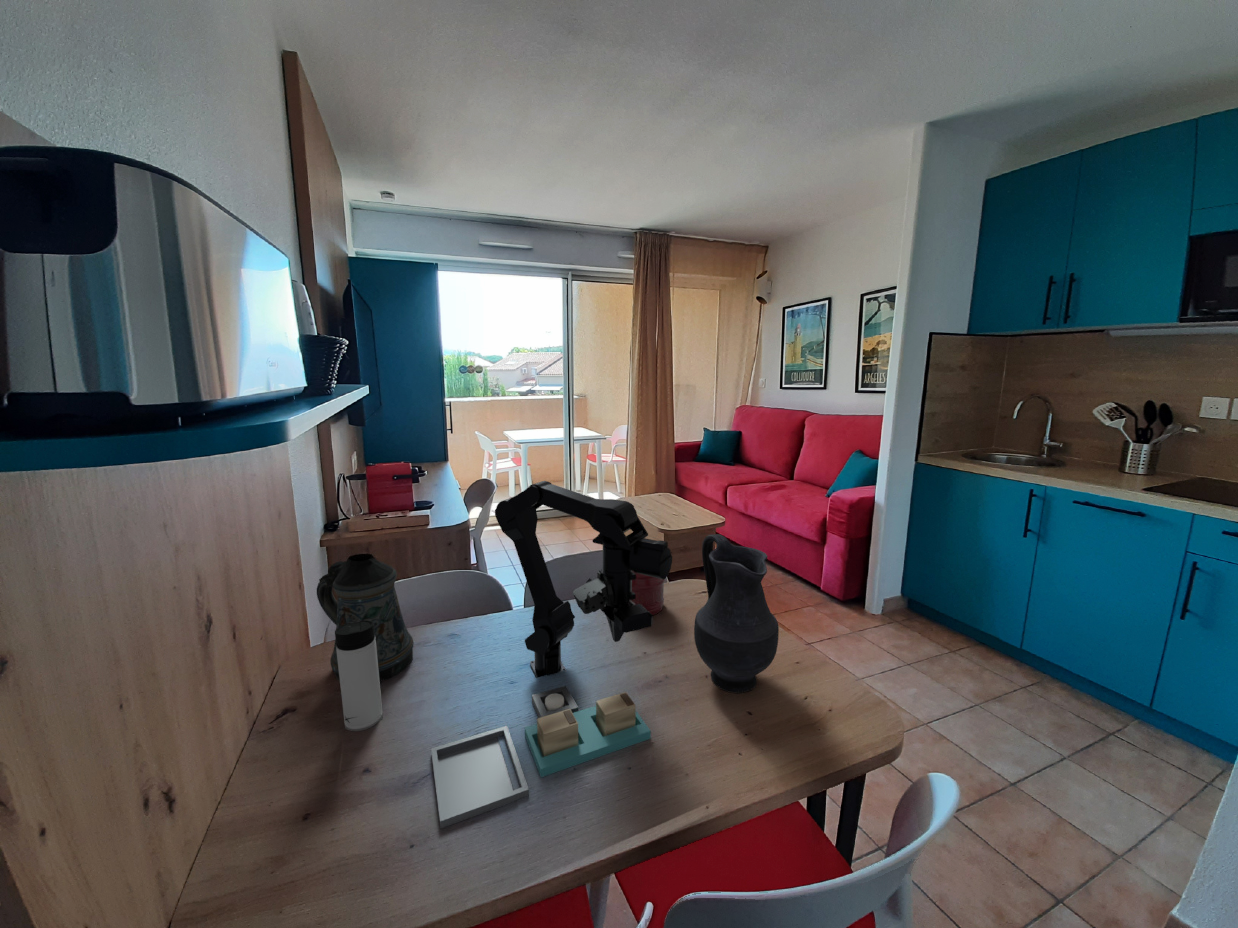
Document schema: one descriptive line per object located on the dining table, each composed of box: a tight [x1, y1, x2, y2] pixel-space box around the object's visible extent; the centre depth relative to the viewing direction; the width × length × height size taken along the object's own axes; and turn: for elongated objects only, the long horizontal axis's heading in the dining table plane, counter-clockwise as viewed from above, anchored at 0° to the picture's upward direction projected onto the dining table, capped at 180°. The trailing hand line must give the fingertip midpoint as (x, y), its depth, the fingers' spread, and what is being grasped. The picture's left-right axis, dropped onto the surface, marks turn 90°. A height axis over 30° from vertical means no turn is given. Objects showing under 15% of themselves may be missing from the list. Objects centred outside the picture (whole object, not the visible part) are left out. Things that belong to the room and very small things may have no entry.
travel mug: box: [334, 620, 384, 732], centre depth 89 cm, size 6×7×20 cm
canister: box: [631, 571, 665, 616], centre depth 134 cm, size 13×13×18 cm
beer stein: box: [316, 553, 415, 682], centre depth 106 cm, size 16×19×25 cm
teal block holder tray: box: [524, 705, 652, 778], centre depth 87 cm, size 10×20×2 cm, turn 115°
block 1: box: [536, 709, 578, 757], centre depth 84 cm, size 4×6×5 cm, turn 115°
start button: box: [544, 693, 565, 712], centre depth 94 cm, size 4×4×2 cm
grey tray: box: [430, 725, 530, 829], centre depth 79 cm, size 15×13×2 cm
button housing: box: [531, 685, 579, 718], centre depth 94 cm, size 7×7×2 cm
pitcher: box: [693, 533, 780, 694], centre depth 104 cm, size 17×21×30 cm
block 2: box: [595, 691, 637, 737], centre depth 88 cm, size 4×6×5 cm, turn 115°
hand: (616, 640), depth 97 cm, fingers closed
